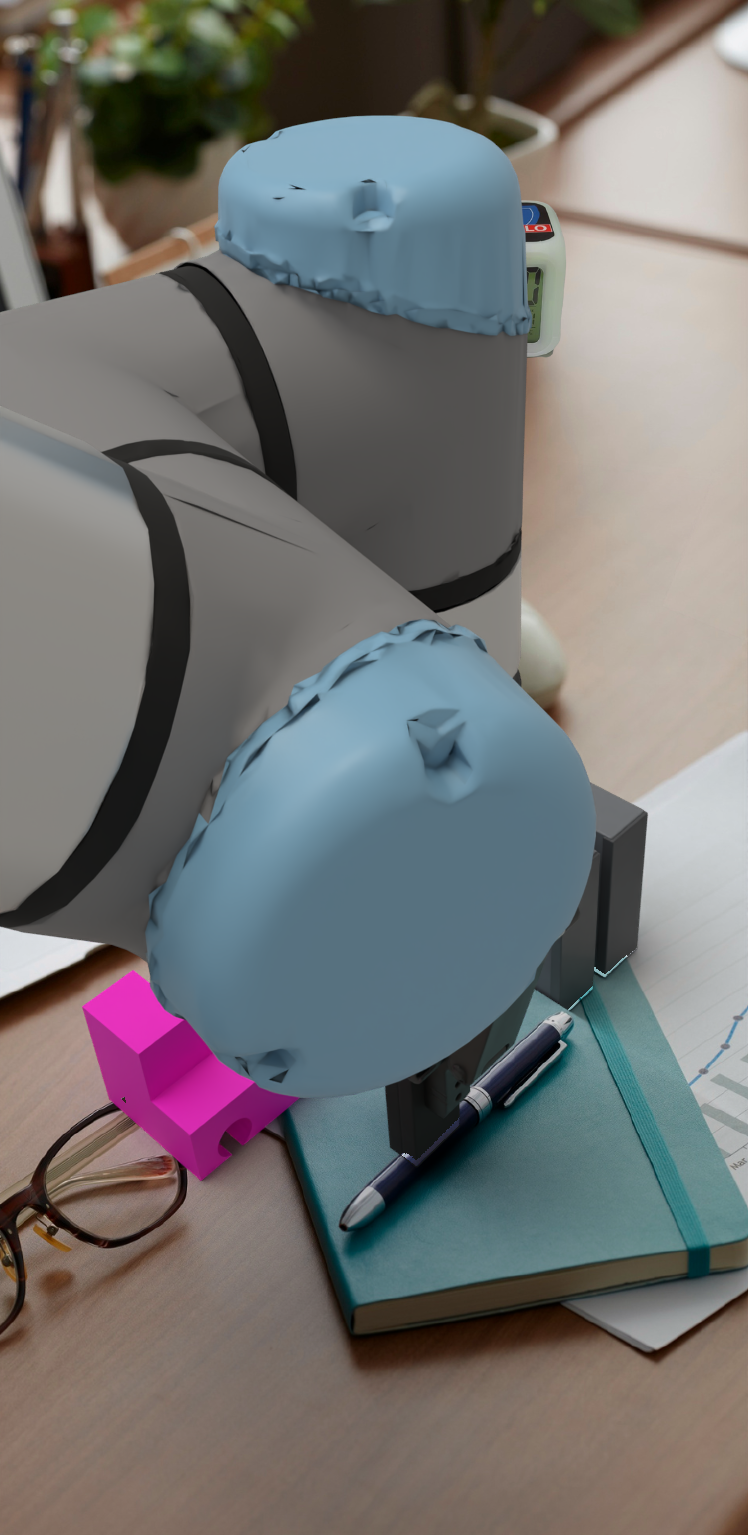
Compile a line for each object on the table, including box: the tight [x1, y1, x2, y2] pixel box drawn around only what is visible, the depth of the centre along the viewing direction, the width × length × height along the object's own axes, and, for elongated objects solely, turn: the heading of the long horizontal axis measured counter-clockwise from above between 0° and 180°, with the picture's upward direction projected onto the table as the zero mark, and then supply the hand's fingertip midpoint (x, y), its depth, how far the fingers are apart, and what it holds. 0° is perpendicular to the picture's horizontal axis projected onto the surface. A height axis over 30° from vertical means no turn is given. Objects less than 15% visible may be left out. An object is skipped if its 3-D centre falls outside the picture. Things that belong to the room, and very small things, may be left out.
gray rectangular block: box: [534, 850, 600, 1011], centre depth 66 cm, size 3×8×9 cm, turn 46°
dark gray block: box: [590, 781, 649, 974], centre depth 68 cm, size 3×8×9 cm, turn 46°
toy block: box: [81, 969, 300, 1182], centre depth 63 cm, size 15×6×8 cm, turn 136°
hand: (425, 1136), depth 58 cm, fingers closed
